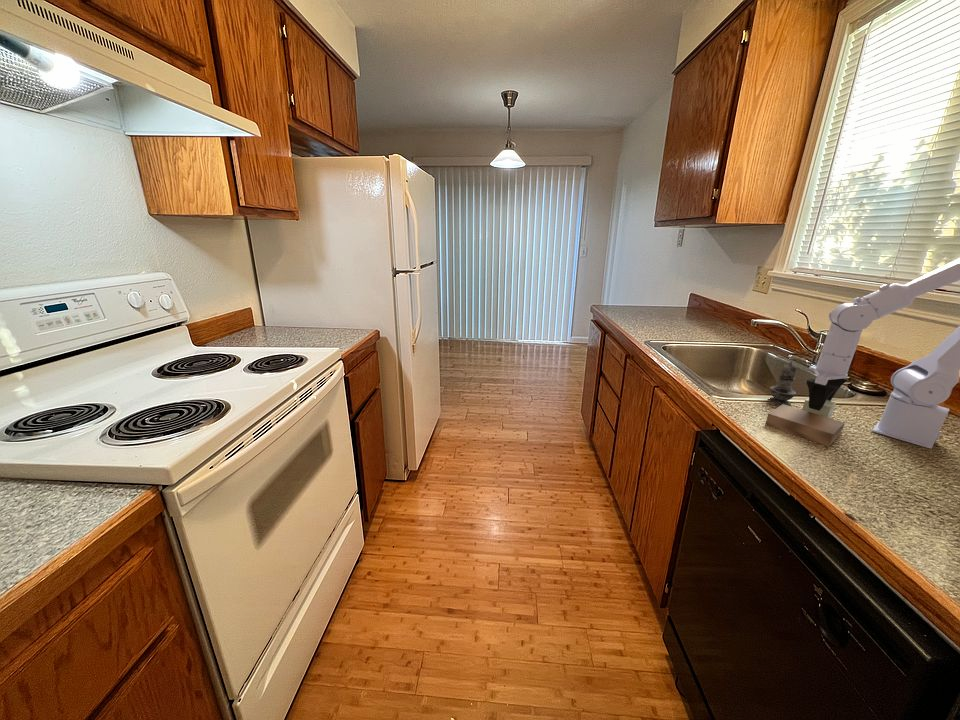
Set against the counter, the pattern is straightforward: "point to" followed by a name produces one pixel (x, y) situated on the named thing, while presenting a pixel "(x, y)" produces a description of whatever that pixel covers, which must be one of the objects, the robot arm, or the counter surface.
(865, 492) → the counter surface
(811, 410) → the sage block
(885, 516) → the counter surface
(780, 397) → the grey stone chess piece
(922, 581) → the counter surface
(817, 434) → the walnut block
